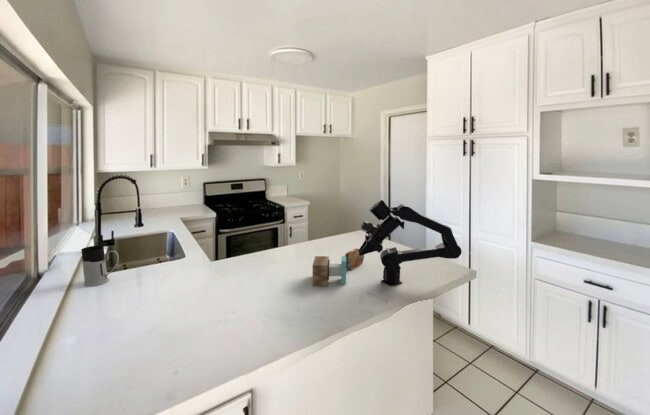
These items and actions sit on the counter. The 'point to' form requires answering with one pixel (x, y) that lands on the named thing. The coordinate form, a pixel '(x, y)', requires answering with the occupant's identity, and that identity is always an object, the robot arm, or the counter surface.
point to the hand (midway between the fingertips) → (359, 253)
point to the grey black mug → (95, 265)
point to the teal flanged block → (339, 269)
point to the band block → (321, 271)
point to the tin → (353, 259)
